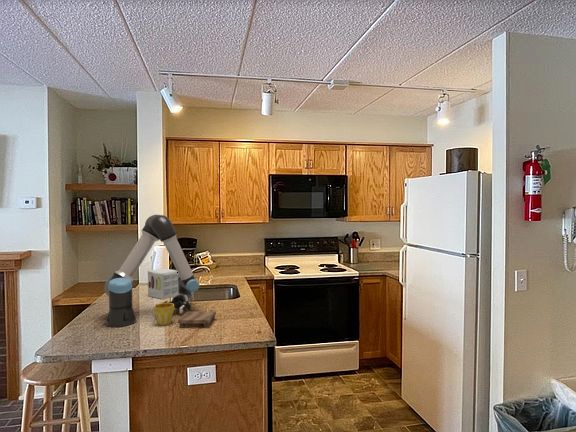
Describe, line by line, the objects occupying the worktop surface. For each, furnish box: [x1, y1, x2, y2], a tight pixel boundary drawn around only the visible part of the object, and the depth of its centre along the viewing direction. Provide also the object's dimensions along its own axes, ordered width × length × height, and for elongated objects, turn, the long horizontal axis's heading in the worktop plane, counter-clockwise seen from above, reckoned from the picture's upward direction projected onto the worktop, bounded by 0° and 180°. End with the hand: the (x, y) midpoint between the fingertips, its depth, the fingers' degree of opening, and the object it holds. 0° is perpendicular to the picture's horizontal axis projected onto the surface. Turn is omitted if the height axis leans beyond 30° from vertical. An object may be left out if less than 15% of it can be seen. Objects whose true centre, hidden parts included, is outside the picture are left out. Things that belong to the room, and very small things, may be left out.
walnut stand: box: [177, 310, 217, 328], centre depth 204 cm, size 16×16×4 cm
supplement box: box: [147, 267, 178, 301], centre depth 266 cm, size 17×13×18 cm
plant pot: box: [153, 302, 175, 326], centre depth 204 cm, size 10×10×10 cm
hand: (167, 310), depth 207 cm, fingers open, 13 cm apart
